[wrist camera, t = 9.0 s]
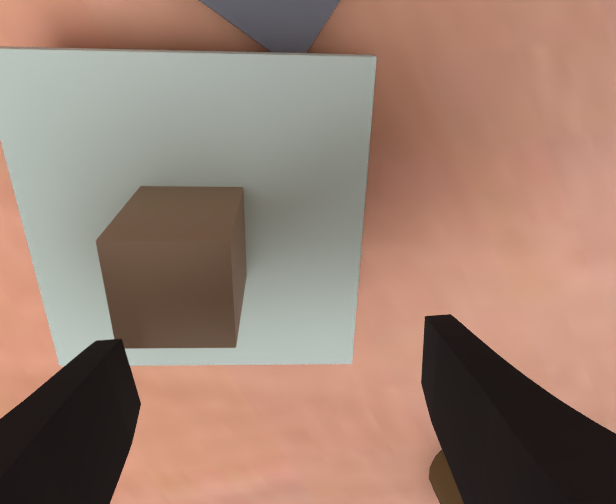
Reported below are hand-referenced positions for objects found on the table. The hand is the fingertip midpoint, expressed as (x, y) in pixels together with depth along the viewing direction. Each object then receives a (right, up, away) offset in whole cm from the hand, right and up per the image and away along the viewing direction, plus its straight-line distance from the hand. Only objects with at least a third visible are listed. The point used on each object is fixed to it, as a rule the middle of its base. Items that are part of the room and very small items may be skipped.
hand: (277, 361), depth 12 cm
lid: (-3, +4, +5) cm, 7 cm away
